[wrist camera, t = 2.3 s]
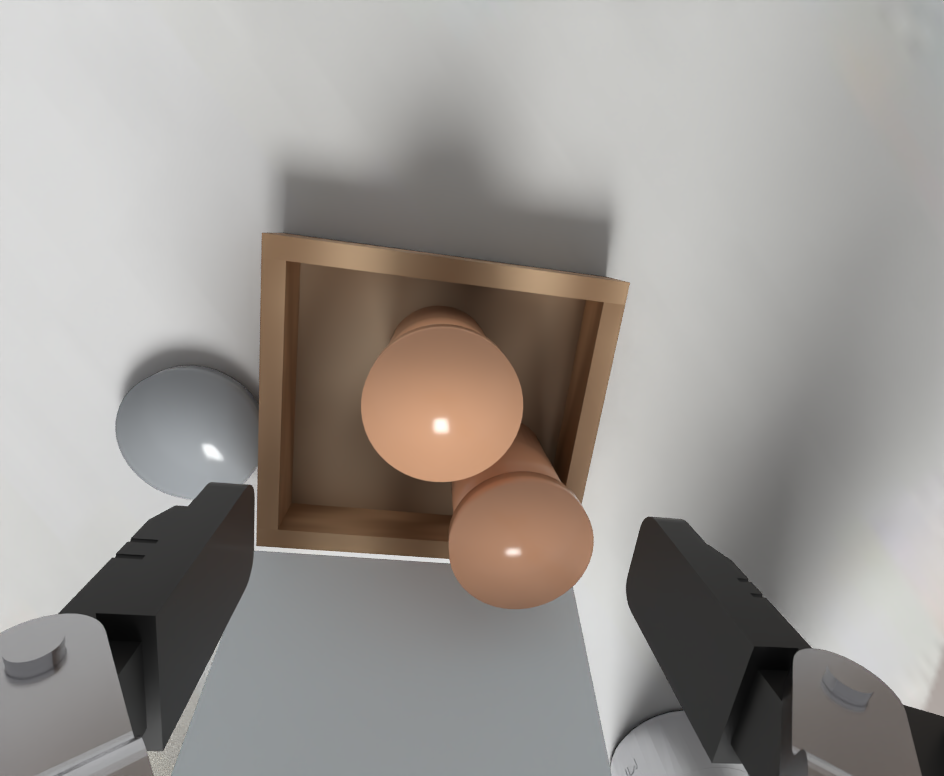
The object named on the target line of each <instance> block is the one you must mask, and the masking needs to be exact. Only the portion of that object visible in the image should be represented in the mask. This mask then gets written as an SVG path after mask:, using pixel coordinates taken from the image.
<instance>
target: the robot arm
mask: <svg viewBox="0 0 944 776" xmlns="http://www.w3.org/2000/svg"><path fill="white" fill-rule="evenodd" d="M254 499H255V498H254V489H253V487H252V485H245V484H233V483H220V482H210V483H208V484H207V485H206V486H205V487H204V489H203V490H202V491H201V492H200V493H199V494H198V495H197V497H196V498H195V499H194V500H193V501H192V502H191V504H190V505H189V506H173V507H172V508H170V509H168V510H166V511H164V512H162V513H161V514H159V515H157V516H155V517H153V518H151V519H149V520H148V521H147V522H146V523H145V524H144V525H143V526H142V527H141V528H140V529H139V531H138V532H137V533H136V534H135V535H134V536H133V537H132V538H131V541H130V542H127V543H126V544H125V545H124V546H123V547H122V548H121V549H120V550H119V551H118V552H117V553H116V557H115V558H111V560H110V561H109V562H108V563H107V564H106V565H105V566H104V567H103V568H102V569H101V570H100V571H99V572H98V573H97V574H96V575H95V576H94V577H93V578H92V579H91V580H90V581H89V582H88V583H87V584H86V585H85V586H84V588H83V589H82V590H81V591H80V592H79V593H78V594H77V595H76V596H75V597H74V598H73V599H72V600H71V601H70V602H69V603H68V604H67V605H66V606H65V607H64V608H63V609H62V610H61V611H60V612H59V613H58V614H55V615H50V616H44V617H40V618H37V619H33V620H30V621H27V622H24V623H21V624H18V625H16V626H14V627H12V628H9V629H7V630H5V631H3V632H1V633H0V776H154V775H153V771H152V768H151V764H150V761H149V757H148V754H147V751H163V750H164V748H165V746H166V744H167V742H168V740H169V738H170V736H171V734H172V732H173V730H174V728H175V726H176V724H177V723H178V721H179V719H180V717H181V715H182V713H183V711H184V709H185V707H186V705H187V703H188V701H189V699H190V697H191V695H192V693H193V691H194V689H195V687H196V685H197V683H198V681H199V679H200V677H201V675H202V673H203V671H204V669H205V668H206V666H207V664H208V662H209V660H210V658H211V656H212V654H213V652H214V650H215V648H216V646H217V644H218V642H219V640H220V638H221V636H222V634H223V632H224V630H225V628H226V626H227V624H228V622H229V620H230V618H231V616H232V614H233V612H234V611H235V609H236V607H237V605H238V603H239V601H240V599H241V597H242V595H243V593H244V591H245V589H246V587H247V584H248V581H249V578H250V575H251V570H252V565H253V558H254ZM626 594H627V601H628V605H629V608H630V610H631V612H632V614H633V616H634V618H635V620H636V622H637V624H638V625H639V627H640V629H641V631H642V633H643V635H644V637H645V639H646V640H647V642H648V644H649V646H650V648H651V650H652V652H653V654H654V656H655V657H656V659H657V661H658V663H659V665H660V667H661V669H662V671H663V672H664V674H665V676H666V678H667V680H668V682H669V684H670V686H671V687H672V689H673V691H674V693H675V695H676V697H677V699H678V701H679V702H680V704H681V706H682V708H683V710H684V711H677V712H670V713H666V714H663V715H659V716H656V717H654V718H652V719H650V720H648V721H645V722H643V723H642V724H640V725H639V726H638V727H636V728H635V729H633V730H632V731H631V732H630V733H629V734H628V735H627V736H626V737H625V738H624V739H623V740H622V741H621V743H620V744H619V746H618V747H617V748H616V750H615V753H614V755H613V758H612V762H611V769H610V770H611V774H612V776H944V717H943V716H940V715H936V714H933V713H929V712H926V711H923V710H919V709H916V708H912V707H909V706H905V705H903V704H902V703H901V701H900V699H899V698H898V697H897V695H896V694H895V693H894V692H893V691H892V690H891V689H890V688H889V687H888V686H887V685H886V684H885V683H884V682H883V681H882V680H881V679H880V678H878V677H877V676H876V675H874V674H873V673H872V672H870V671H869V670H867V669H866V668H864V667H863V666H861V665H859V664H857V663H855V662H854V661H852V660H850V659H848V658H846V657H843V656H841V655H838V654H836V653H833V652H829V651H826V650H821V649H814V648H811V647H810V645H809V644H808V643H807V642H806V641H805V640H804V639H803V638H802V637H801V636H800V635H799V633H798V632H797V631H796V630H795V629H794V628H793V627H792V626H791V625H790V624H789V623H788V622H787V620H786V619H785V618H784V617H783V616H782V615H781V614H780V613H779V612H778V611H777V610H776V608H775V607H774V606H773V605H772V604H771V603H770V602H769V601H768V600H767V599H766V598H763V597H762V593H761V592H760V591H759V590H758V589H757V588H756V587H755V586H754V585H753V583H752V582H748V578H747V577H746V576H745V575H744V574H743V573H742V571H741V570H740V569H739V568H738V567H737V566H736V565H735V564H734V563H733V562H732V561H731V560H730V559H728V558H727V557H725V556H724V555H723V554H721V553H720V552H718V551H717V550H715V549H714V548H712V547H711V546H709V545H707V544H706V543H705V542H704V541H703V540H702V538H701V537H700V536H699V535H698V534H697V533H696V532H695V531H694V529H693V528H692V527H691V526H690V525H689V524H688V523H687V522H686V521H685V520H682V519H672V518H659V517H647V518H645V519H644V521H643V522H642V524H641V527H640V531H639V534H638V538H637V542H636V546H635V550H634V554H633V557H632V561H631V565H630V569H629V573H628V577H627V583H626Z"/></svg>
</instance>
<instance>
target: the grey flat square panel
mask: <svg viewBox="0 0 944 776" xmlns="http://www.w3.org/2000/svg"><path fill="white" fill-rule="evenodd" d="M171 776H612V774H611V770H610V765H609V760H608V755H607V750H606V745H605V741H604V736H603V731H602V726H601V721H600V716H599V711H598V707H597V702H596V697H595V692H594V687H593V682H592V677H591V673H590V668H589V663H588V658H587V653H586V648H585V643H584V639H583V634H582V629H581V624H580V619H579V614H578V610H577V605H576V600H575V595H574V590H573V587H572V588H571V589H570V590H568V591H567V592H566V593H564V594H563V595H561V596H560V597H558V598H556V599H555V600H553V601H550V602H548V603H546V604H543V605H540V606H537V607H532V608H526V609H504V608H499V607H494V606H491V605H488V604H486V603H483V602H482V601H480V600H478V599H476V598H475V597H473V596H472V595H470V594H469V593H468V592H467V591H466V590H465V589H464V588H463V587H462V586H461V585H460V583H459V582H458V580H457V579H456V577H455V575H454V573H453V570H452V568H451V564H448V563H433V562H418V561H402V560H387V559H372V558H357V557H342V556H327V555H311V554H296V553H281V552H266V551H254V558H253V565H252V570H251V575H250V578H249V581H248V584H247V587H246V589H245V591H244V593H243V595H242V597H241V599H240V601H239V603H238V605H237V607H236V609H235V611H234V612H233V614H232V616H231V618H230V620H229V622H228V624H227V626H226V628H225V630H224V633H223V636H222V638H221V641H220V644H219V647H218V649H217V652H216V655H215V658H214V660H213V663H212V666H211V668H210V671H209V674H208V677H207V679H206V682H205V685H204V687H203V690H202V693H201V696H200V698H199V701H198V704H197V706H196V709H195V712H194V715H193V717H192V720H191V723H190V725H189V728H188V731H187V734H186V736H185V739H184V742H183V745H182V747H181V750H180V753H179V755H178V758H177V761H176V764H175V766H174V769H173V772H172V774H171Z"/></svg>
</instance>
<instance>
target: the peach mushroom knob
mask: <svg viewBox="0 0 944 776" xmlns="http://www.w3.org/2000/svg"><path fill="white" fill-rule="evenodd" d="M361 414H362V421H363V425H364V428H365V431H366V434H367V436H368V438H369V440H370V442H371V444H372V445H373V447H374V449H375V450H376V451H377V452H378V454H379V455H380V456H381V457H382V458H383V459H384V460H385V461H386V462H387V463H388V464H390V465H391V466H393V467H394V468H395V469H397V470H399V471H400V472H402V473H404V474H406V475H409V476H411V477H414V478H417V479H421V480H425V481H432V482H450V481H457V480H462V479H466V478H469V477H472V476H474V475H476V474H478V473H481V472H483V471H484V470H486V469H487V468H489V467H490V466H492V465H493V464H494V463H495V462H497V461H498V460H499V459H500V458H501V457H502V456H503V455H504V454H505V453H506V451H507V450H508V449H509V447H510V446H511V445H512V443H513V441H514V439H515V437H516V435H517V433H518V430H519V428H520V424H521V420H522V414H523V395H522V389H521V385H520V382H519V379H518V377H517V374H516V372H515V370H514V368H513V367H512V365H511V363H510V362H509V360H508V359H507V357H506V356H505V354H504V353H503V352H502V351H501V350H500V348H499V347H498V346H497V345H496V344H494V343H493V342H492V341H491V340H490V339H488V338H487V337H486V335H485V333H484V331H483V330H482V328H481V327H480V325H479V324H478V323H477V322H476V321H475V320H474V319H473V318H472V317H471V316H469V315H468V314H466V313H465V312H463V311H461V310H459V309H456V308H453V307H448V306H429V307H425V308H422V309H419V310H417V311H415V312H413V313H411V314H410V315H408V316H407V317H405V318H404V319H403V320H402V321H401V322H400V323H399V325H398V326H397V327H396V329H395V330H394V332H393V334H392V336H391V338H390V341H389V344H388V346H386V347H385V348H384V350H383V351H382V352H381V353H380V354H379V355H378V357H377V359H376V360H375V362H374V363H373V365H372V367H371V370H370V372H369V374H368V376H367V379H366V381H365V385H364V388H363V392H362V399H361Z"/></svg>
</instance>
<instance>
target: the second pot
mask: <svg viewBox="0 0 944 776" xmlns="http://www.w3.org/2000/svg"><path fill="white" fill-rule="evenodd" d="M451 492H452V504H453V515H452V518H451V521H450V525H449V530H448V545H449V558H450V564H451V568H452V570H453V573H454V575H455V577H456V579H457V580H458V582H459V583H460V585H461V586H462V587H463V588H464V589H465V590H466V591H467V592H468V593H469V594H470V595H472V596H473V597H475V598H476V599H478V600H480V601H482V602H483V603H486V604H488V605H491V606H494V607H499V608H504V609H526V608H532V607H537V606H540V605H543V604H546V603H548V602H550V601H553V600H555V599H556V598H558V597H560V596H561V595H563V594H564V593H566V592H567V591H568V590H570V589H571V588H572V587H573V586H574V585H575V584H576V583H577V581H578V580H579V579H580V578H581V577H582V575H583V573H584V572H585V570H586V568H587V566H588V564H589V562H590V559H591V556H592V551H593V538H594V537H593V530H592V526H591V523H590V520H589V518H588V516H587V514H586V512H585V510H584V509H583V507H582V505H581V503H580V502H579V500H578V499H577V497H576V496H575V494H574V493H573V492H572V491H571V490H570V489H569V488H568V487H567V486H566V485H564V484H563V483H562V482H561V481H560V479H559V477H558V475H557V474H556V472H555V470H554V468H553V466H552V464H551V462H550V460H549V458H548V456H547V455H546V453H545V451H544V449H543V447H542V445H541V443H540V441H539V439H538V438H537V436H536V435H535V434H534V432H533V431H532V430H531V429H530V428H528V427H527V426H526V425H524V424H523V423H521V424H520V428H519V430H518V433H517V435H516V437H515V439H514V441H513V443H512V445H511V446H510V447H509V449H508V450H507V451H506V453H505V454H504V455H503V456H502V457H501V458H500V459H499V460H498V461H497V462H495V463H494V464H493V465H492V466H490V467H489V468H487V469H486V470H484V471H483V472H481V473H478V474H476V475H474V476H472V477H469V478H466V479H462V480H457V481H451Z"/></svg>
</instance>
